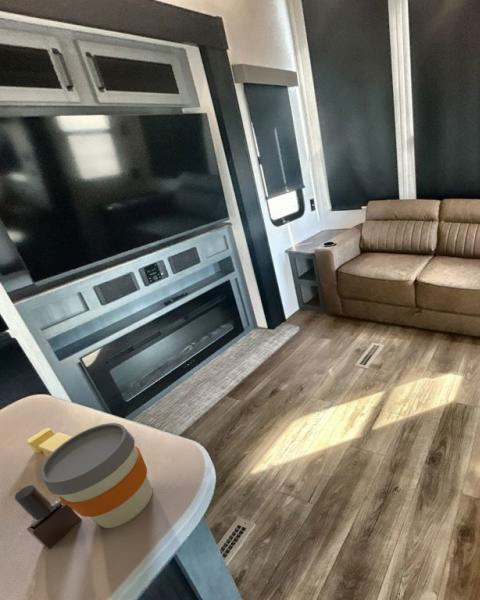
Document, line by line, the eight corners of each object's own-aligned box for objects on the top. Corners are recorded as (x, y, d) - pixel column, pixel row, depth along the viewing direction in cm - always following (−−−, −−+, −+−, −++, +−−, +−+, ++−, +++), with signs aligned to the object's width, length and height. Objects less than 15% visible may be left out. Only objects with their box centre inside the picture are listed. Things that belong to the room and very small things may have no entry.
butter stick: (84, 449, 83) (76, 438, 81) (65, 464, 79) (56, 453, 78) (66, 442, 85) (58, 432, 84) (46, 456, 82) (37, 445, 80)
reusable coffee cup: (177, 482, 72) (143, 428, 65) (116, 548, 62) (68, 492, 55) (134, 468, 76) (98, 416, 69) (70, 527, 66) (20, 473, 59)
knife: (54, 546, 63) (13, 505, 58) (46, 541, 64) (5, 501, 59) (79, 524, 66) (42, 483, 61) (70, 519, 67) (34, 479, 62)
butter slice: (58, 439, 86) (50, 429, 85) (39, 453, 83) (30, 442, 81) (54, 437, 87) (45, 427, 85) (34, 451, 84) (25, 440, 82)
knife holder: (49, 549, 63) (32, 532, 60) (42, 545, 63) (25, 529, 61) (81, 520, 67) (67, 503, 65) (75, 516, 68) (60, 500, 65)
